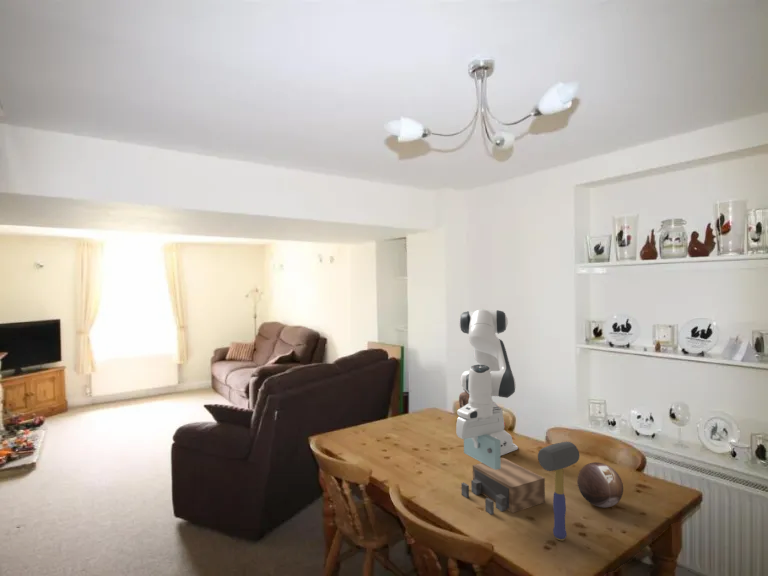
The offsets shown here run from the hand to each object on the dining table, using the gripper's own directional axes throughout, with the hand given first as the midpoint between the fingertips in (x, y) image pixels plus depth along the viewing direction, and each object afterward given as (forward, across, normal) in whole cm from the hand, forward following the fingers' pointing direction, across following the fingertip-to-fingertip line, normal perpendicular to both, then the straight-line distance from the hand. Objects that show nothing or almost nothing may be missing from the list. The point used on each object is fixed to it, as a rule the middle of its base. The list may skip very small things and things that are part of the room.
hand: (481, 446), depth 162 cm
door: (+5, 0, 0) cm, 5 cm away
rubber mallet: (+21, -7, +30) cm, 37 cm away
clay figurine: (+21, -57, -80) cm, 100 cm away
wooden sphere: (+21, -37, +22) cm, 48 cm away
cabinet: (+21, -9, 0) cm, 23 cm away
